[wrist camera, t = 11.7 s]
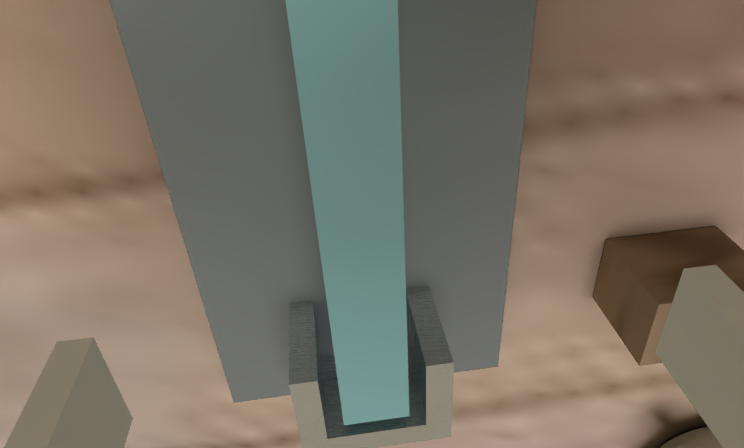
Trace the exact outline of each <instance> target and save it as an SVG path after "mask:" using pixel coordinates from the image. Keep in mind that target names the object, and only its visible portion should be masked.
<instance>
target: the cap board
mask: <svg viewBox="0 0 744 448" xmlns="http://www.w3.org/2000/svg"><path fill="white" fill-rule="evenodd" d="M109 1H110V4H111V7H112V11H113V14H114V17H115V20H116V24H117V27H118V30H119V33H120V36H121V40H122V43H123V46H124V49H125V53H126V56H127V59H128V62H129V66H130V69H131V72H132V75H133V78H134V82H135V85H136V88H137V91H138V95H139V98H140V101H141V104H142V107H143V111H144V114H145V117H146V120H147V124H148V127H149V130H150V133H151V137H152V140H153V143H154V146H155V149H156V153H157V156H158V159H159V162H160V166H161V169H162V172H163V175H164V178H165V182H166V185H167V188H168V191H169V195H170V198H171V201H172V204H173V208H174V211H175V214H176V217H177V220H178V224H179V227H180V230H181V233H182V237H183V240H184V243H185V246H186V249H187V253H188V256H189V259H190V262H191V266H192V269H193V272H194V275H195V279H196V282H197V285H198V288H199V291H200V295H201V298H202V301H203V304H204V308H205V311H206V314H207V317H208V321H209V324H210V327H211V330H212V333H213V337H214V340H215V343H216V346H217V350H218V353H219V356H220V359H221V362H222V366H223V369H224V372H225V375H226V379H227V382H228V385H229V388H230V392H231V395H232V398H233V401H234V403H235V402H242V401H249V400H257V399H264V398H271V397H278V396H286V395H291V393H290V388H289V304H292V303H300V302H308V301H314V307H315V314H316V320H317V327H318V333H319V339H320V346H321V352H322V357H324V356H331V355H334V350H333V343H332V335H331V328H330V321H329V314H328V306H327V299H326V292H325V285H324V277H323V270H322V263H321V256H320V248H319V241H318V234H317V227H316V219H315V212H314V205H313V198H312V190H311V183H310V176H309V169H308V161H307V154H306V147H305V140H304V132H303V125H302V118H301V111H300V103H299V96H298V89H297V81H296V74H295V67H294V60H293V52H292V45H291V38H290V31H289V23H288V16H287V9H286V2H285V0H109ZM536 4H537V0H398V28H399V63H400V98H401V134H402V169H403V204H404V240H405V275H406V289H412V288H420V287H428V286H429V287H430V290H431V293H432V296H433V299H434V302H435V305H436V308H437V311H438V315H439V318H440V321H441V324H442V327H443V330H444V333H445V336H446V339H447V343H448V346H449V349H450V352H451V355H452V358H453V361H454V372H461V371H468V370H476V369H483V368H490V367H497V366H498V360H499V351H500V341H501V332H502V322H503V313H504V304H505V294H506V285H507V276H508V266H509V257H510V248H511V238H512V229H513V220H514V210H515V201H516V191H517V182H518V173H519V163H520V154H521V145H522V135H523V126H524V117H525V107H526V98H527V89H528V79H529V70H530V60H531V51H532V42H533V32H534V23H535V14H536Z"/></svg>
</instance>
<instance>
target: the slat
mask: <svg viewBox="0 0 744 448" xmlns="http://www.w3.org/2000/svg"><path fill="white" fill-rule="evenodd" d="M285 2H286V9H287V16H288V23H289V31H290V38H291V45H292V52H293V60H294V67H295V74H296V81H297V89H298V96H299V103H300V111H301V118H302V125H303V132H304V140H305V147H306V154H307V161H308V169H309V176H310V183H311V190H312V198H313V205H314V212H315V219H316V227H317V234H318V241H319V248H320V256H321V263H322V270H323V277H324V285H325V292H326V299H327V306H328V314H329V321H330V328H331V335H332V343H333V350H334V357H335V364H336V372H337V379H338V386H339V393H340V401H341V408H342V415H343V423H344V425H350V424H357V423H364V422H372V421H379V420H386V419H393V418H400V417H407V416H409V381H408V346H407V310H406V275H405V240H404V204H403V169H402V134H401V98H400V63H399V28H398V0H285Z"/></svg>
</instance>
